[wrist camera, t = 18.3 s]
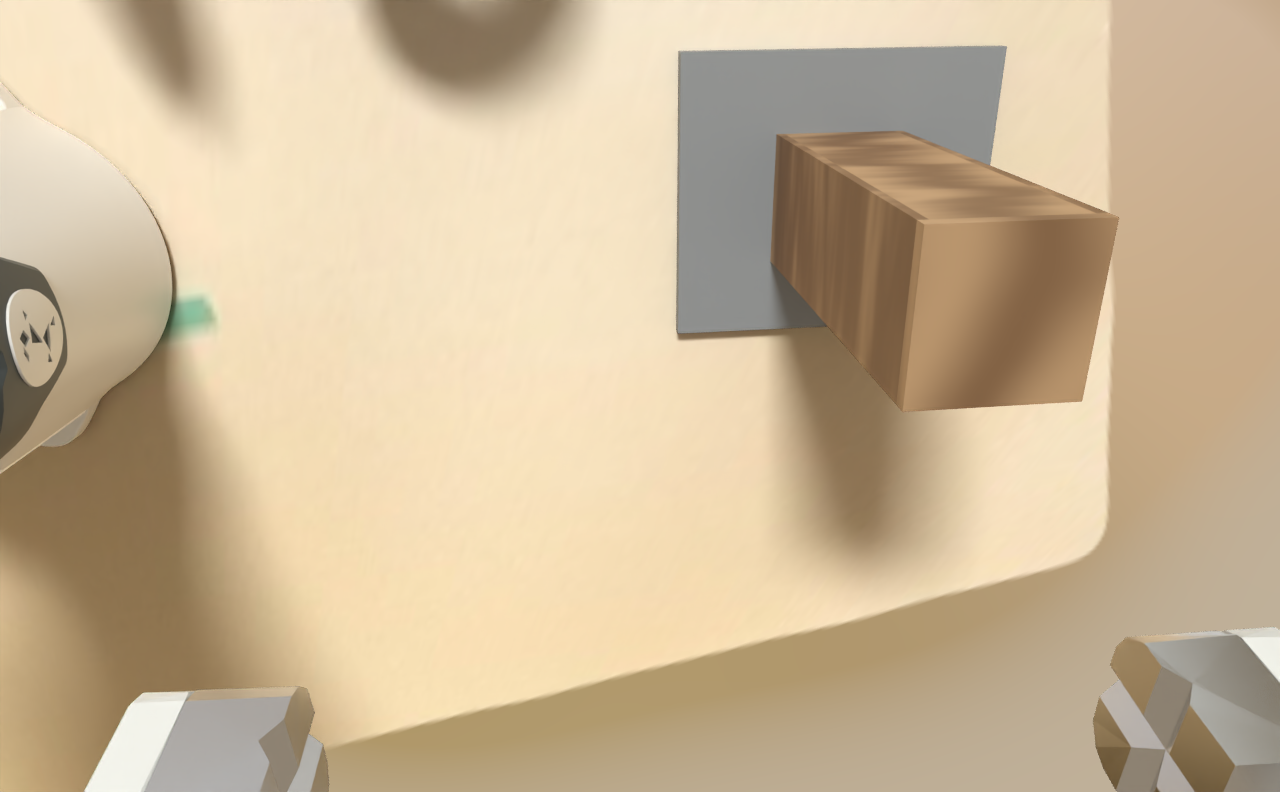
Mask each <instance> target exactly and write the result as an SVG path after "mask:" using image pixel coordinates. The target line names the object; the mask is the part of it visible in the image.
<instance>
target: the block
mask: <svg viewBox="0 0 1280 792" xmlns="http://www.w3.org/2000/svg"><path fill="white" fill-rule="evenodd" d="M1118 220H1119V217H1117V216H1115V215H1112V214H1110V213H1107V212H1105V211H1102V210H1100V209H1097V208H1095V207H1092V206H1090V205H1087V204H1085V203H1082V202H1080V201H1077V200H1075V199H1072V198H1070V197H1067V196H1065V195H1062V194H1060V193H1057V192H1055V191H1052V190H1050V189H1047V188H1045V187H1042V186H1040V185H1037V184H1035V183H1032V182H1030V181H1027V180H1025V179H1022V178H1020V177H1017V176H1015V175H1012V174H1010V173H1007V172H1005V171H1002V170H1000V169H997V168H995V167H992V166H990V165H987V164H985V163H982V162H980V161H977V160H975V159H972V158H970V157H967V156H965V155H962V154H960V153H957V152H955V151H952V150H950V149H947V148H945V147H942V146H940V145H937V144H935V143H932V142H930V141H927V140H925V139H922V138H920V137H917V136H915V135H912V134H910V133H907V132H905V131H874V132H837V133H799V134H777V135H776V155H775V176H774V196H773V216H772V236H771V257H770V261H771V262H772V264H773V265H774V266H775V267H776V268H777V269H778V270H779V272H780V273H781V274H782V275H783V276H784V277H785V278H786V280H787V281H788V282H789V283H790V284H791V285H792V286H793V288H794V289H795V290H796V291H797V292H798V293H799V294H800V296H801V297H802V298H803V299H804V300H805V301H806V302H807V303H808V305H809V306H810V307H811V308H812V309H813V310H814V311H815V313H816V314H817V315H818V316H819V317H820V318H821V319H822V321H823V322H824V323H825V324H826V325H827V326H828V327H829V329H830V330H831V331H832V332H833V333H834V334H835V335H836V337H837V338H838V339H839V340H840V341H841V342H842V343H843V344H844V346H845V347H846V348H847V349H848V350H849V351H850V352H851V354H852V355H853V356H854V357H855V358H856V359H857V360H858V362H859V363H860V364H861V365H862V366H863V367H864V368H865V370H866V371H867V372H868V373H869V374H870V375H871V376H872V378H873V379H874V380H875V381H876V382H877V383H878V384H879V385H880V387H881V388H882V389H883V390H884V391H885V392H886V393H887V395H888V396H889V397H890V398H891V399H892V400H893V401H894V403H895V404H896V405H897V406H898V407H899V408H900V409H901V411H902V412H907V411H925V410H942V409H959V408H976V407H994V406H1011V405H1028V404H1045V403H1063V402H1080V401H1082V399H1083V394H1084V389H1085V384H1086V379H1087V374H1088V369H1089V364H1090V359H1091V354H1092V349H1093V344H1094V339H1095V334H1096V330H1097V325H1098V320H1099V315H1100V310H1101V305H1102V300H1103V295H1104V290H1105V285H1106V280H1107V275H1108V270H1109V265H1110V260H1111V255H1112V250H1113V245H1114V240H1115V235H1116V230H1117V225H1118Z"/></svg>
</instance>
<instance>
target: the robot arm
mask: <svg viewBox="0 0 1280 792" xmlns="http://www.w3.org/2000/svg"><path fill="white" fill-rule="evenodd" d="M171 301H172V274H171V266H170V260H169V256H168V252H167V248H166V245H165V242H164V239H163V236H162V234H161V232H160V229H159V227H158V225H157V223H156V221H155V219H154V217H153V215H152V213H151V212H150V210H149V208H148V206H147V205H146V203H145V202H144V200H143V199H142V197H141V196H140V195H139V193H138V192H137V191H136V189H135V188H134V187H133V186H132V184H131V183H130V182H129V181H128V180H127V179H126V178H125V176H124V175H123V174H122V173H121V172H120V171H119V170H118V169H117V168H116V167H115V166H114V165H113V164H111V163H110V162H109V161H108V160H107V159H106V158H105V157H103V156H102V155H101V154H100V153H98V152H97V151H96V150H94V149H93V148H92V147H90V146H89V145H87V144H86V143H85V142H83V141H82V140H80V139H78V138H77V137H75V136H73V135H72V134H70V133H68V132H66V131H64V130H63V129H61V128H59V127H57V126H55V125H53V124H51V123H49V122H48V121H46V120H44V119H42V118H40V117H39V116H37V115H35V114H34V113H32V112H31V111H29V110H28V109H27V108H25V107H24V106H22V104H21V103H20V102H19V101H18V100H17V99H16V98H15V97H14V96H13V95H12V94H11V92H10V91H9V90H8V89H7V88H6V87H5V86H4V85H3V84H2V83H1V82H0V474H1V473H2V472H4V471H5V470H7V469H8V468H9V467H11V466H12V465H14V464H15V463H16V462H18V461H19V460H21V459H22V458H23V457H25V456H26V455H28V454H29V453H30V452H32V451H33V450H34V449H36V448H37V447H39V446H48V447H59V446H64V445H66V444H68V443H70V442H71V441H73V440H74V439H75V438H77V437H78V436H79V435H81V434H82V433H83V431H84V430H85V429H86V427H87V426H88V424H89V422H90V421H91V419H92V417H93V415H94V413H95V410H96V408H97V406H98V404H99V401H100V399H101V398H102V397H103V396H104V395H105V394H106V393H107V392H108V391H109V390H110V389H111V388H113V387H114V386H115V385H117V384H118V383H119V382H121V381H122V380H124V379H125V378H126V377H128V376H129V375H130V374H132V373H133V372H134V371H135V370H136V369H137V368H138V367H139V366H140V365H141V364H142V363H143V362H144V361H145V360H146V359H147V358H148V357H149V355H150V354H151V353H152V351H153V350H154V348H155V347H156V345H157V343H158V342H159V340H160V338H161V336H162V334H163V331H164V329H165V326H166V323H167V320H168V317H169V312H170V308H171ZM1110 666H1111V667H1112V669H1113V671H1114V672H1115V674H1116V675H1117V676H1118V678H1119V680H1118V681H1117V682H1116V683H1115V684H1113V685H1112V686H1111V687H1110V688H1109V689H1108V690H1106V691H1105V692H1104V693H1103V694H1102V695H1100V696H1099V700H1098V704H1097V707H1096V711H1095V716H1094V718H1093V725H1094V734H1095V745H1096V749H1097V752H1098V755H1099V758H1100V760H1101V763H1102V766H1103V769H1104V770H1105V772H1106V774H1107V776H1108V777H1109V779H1110V781H1111V783H1112V784H1113V786H1114V788H1115V789H1116V791H1117V792H1280V630H1279V629H1277V628H1275V627H1269V628H1255V629H1239V630H1226V631H1222V632H1219V631H1206V632H1191V633H1178V634H1163V635H1148V636H1135V637H1126V638H1125V639H1124V640H1123V641H1122V642H1121V643H1120V644H1119V645H1117V647H1116V649H1115V652H1114V655H1113V657H1112V660H1111V663H1110ZM314 713H315V712H314V709H313V706H312V703H311V699H310V696H309V693H308V690H307V689H306V688H303V687H299V686H296V687H266V688H237V689H207V690H196V691H175V692H146V693H142V694H141V695H140V696H139V697H138V698H137V699H135V700H134V701H133V702H132V703H131V704H130V705H129V706H128V708H127V710H126V712H125V714H124V715H123V717H122V719H121V721H120V723H119V725H118V727H117V729H116V731H115V733H114V735H113V736H112V738H111V740H110V742H109V744H108V746H107V748H106V750H105V752H104V754H103V756H102V758H101V759H100V761H99V763H98V765H97V767H96V769H95V771H94V773H93V775H92V777H91V779H90V780H89V782H88V784H87V786H86V788H85V790H84V792H328V791H329V777H328V765H327V759H326V755H325V750H324V746H323V744H322V743H321V742H319V741H318V740H317V739H315V738H314V737H313V736H311V735H310V734H309V731H310V727H311V724H312V720H313V717H314Z"/></svg>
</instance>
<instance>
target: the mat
mask: <svg viewBox="0 0 1280 792" xmlns="http://www.w3.org/2000/svg"><path fill="white" fill-rule="evenodd" d="M1006 49H1007V46H954V47H895V48H836V49H777V50H718V51H679V69H678V192H677V314H676V330H677V332H678V333H698V332H719V331H740V330H761V329H782V328H803V327H824V326H827V325H826V324H825V323H824V322H823V321H822V319H821V318H820V317H819V316H818V315H817V314H816V313H815V311H814V310H813V309H812V308H811V307H810V306H809V305H808V303H807V302H806V301H805V300H804V299H803V298H802V297H801V296H800V294H799V293H798V292H797V291H796V290H795V289H794V288H793V286H792V285H791V284H790V283H789V282H788V281H787V280H786V278H785V277H784V276H783V275H782V274H781V273H780V272H779V270H778V269H777V268H776V267H775V266H774V265H773V264H772V262H771V261H770V257H771V236H772V216H773V196H774V176H775V155H776V135H777V134H799V133H837V132H874V131H905V132H907V133H910V134H912V135H915V136H917V137H920V138H922V139H925V140H927V141H930V142H932V143H935V144H937V145H940V146H942V147H945V148H947V149H950V150H952V151H955V152H957V153H960V154H962V155H965V156H967V157H970V158H972V159H975V160H977V161H980V162H982V163H985V164H987V165H990V162H991V155H992V148H993V141H994V133H995V126H996V119H997V112H998V105H999V98H1000V91H1001V84H1002V77H1003V70H1004V63H1005V56H1006Z"/></svg>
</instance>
